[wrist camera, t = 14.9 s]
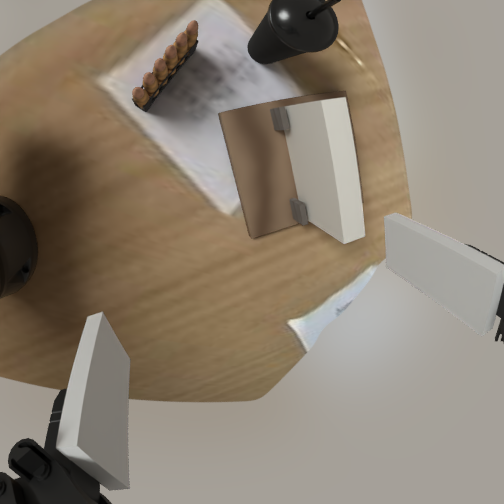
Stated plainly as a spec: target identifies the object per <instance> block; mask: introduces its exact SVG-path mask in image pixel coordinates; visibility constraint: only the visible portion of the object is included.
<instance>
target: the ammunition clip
mask: <svg viewBox="0 0 504 504" xmlns="http://www.w3.org/2000/svg"><path fill="white" fill-rule="evenodd" d="M197 37H198V23H197V21H195V20H194V21H191V22H190V23H189V24H188V26H187V28H186V30H185V31H184V32H182V33H180V34H179V35H178V36H177V38H176V41H175V42H174V44H173V45H170V46H168V47H167V48H166V51H165V54H164V56H163V59H161V58H159V59H157V60H156V61H155V64H154V68H153V72H152V73H150V72H148V73H146V74H145V75H144V77H143V85H142V86H141V88H140V87H135V88H134V89H133V91H132V94H133V99H132V100H133V102H134V104H135V106H137V107H138V108H140V109H142V110H143V111H145V112H147V110H148V109H149V107H150V106H151V105H152V103H153V102H154V101H155V99H156V98H157V97H158V95H159V94H160V93H161V92H162V90H163V89H164V88H165V86H166V85H167V84H168V83H169V81H170V80H171V79H172V78H173V76H174V75H175V74H176V73H177V71H178V70H179V69H180V68H181V67H182V65H183V64H184V63H185V62H186V61H187V60H188V58H189V57H190V56H191V55H192V54H193V53H194V52H195V50H196V47H197V44H198V40H196V39H197ZM143 87H144V89H145V90H144V89H143Z"/></svg>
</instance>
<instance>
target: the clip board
mask: <svg viewBox="0 0 504 504" xmlns="http://www.w3.org/2000/svg"><path fill="white" fill-rule="evenodd" d="M342 97H346V102H347V107H348V112H349V117H350V122H351V128H352V134H353V140H354V146H355V152H356V159H357V166H358V173H359V181H360V189H361V198H362V203H363V194H362V186H361V178H360V170H359V163H358V156H357V149H356V143H355V137H354V131H353V125H352V120H351V114H350V109H349V104H348V99H347V94H346V91H338V92H329V93H322V94H314V95H307V96H301V97H294V98H288V99H283V100H277V101H272V102H266V103H261V104H256V105H252V106H247V107H242V108H238V109H233V110H229V111H225V112H221V113H218V115H219V119H220V123H221V127H222V131H223V135H224V139H225V143H226V147H227V151H228V155H229V159H230V162H231V166H232V170H233V174H234V178H235V182H236V186H237V190H238V194H239V198H240V202H241V206H242V210H243V213H244V217H245V221H246V225H247V229H248V233H249V236H250V237H251V238H252V239H253V238H256V237H259V236H262V235H265V234H268V233H271V232H274V231H277V230H280V229H283V228H287V227H290V226H293V225H296V224H299V223H300V224H301V225H306V224H308V219H307V214H306V208H305V203H303V202H302V201H300V200H298V195H297V190H296V185H295V180H294V175H293V170H292V165H291V160H290V155H289V150H288V146H287V141H286V136H285V132H284V130H287V129H290V127H289V123H288V118H287V114H286V109H285V106H290V105H296V104H301V103H307V102H313V101H320V100H327V99H334V98H342Z"/></svg>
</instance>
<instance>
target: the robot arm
mask: <svg viewBox="0 0 504 504" xmlns="http://www.w3.org/2000/svg"><path fill="white" fill-rule="evenodd" d="M384 224H385V244H386V267H387V268H388V269H389V270H391V271H392V272H394V273H395V274H397V275H398V276H400V277H401V278H403V279H404V280H405V281H407V282H409V283H410V284H411V285H413V286H414V287H415V288H417V289H418V290H420V291H421V292H422V293H424V294H425V295H427V296H428V297H429V298H431V299H432V300H434V301H435V302H436V303H438V304H439V305H441V306H442V307H443V308H445V309H446V310H447V311H449V312H450V313H451V314H453V315H454V316H455V317H457V318H458V319H459V320H461V321H462V322H463V323H465V324H466V325H467V326H468V327H470V328H471V329H472V330H474V331H475V332H476V333H478V334H479V335H480V336H481V337H482V336H483V335H485V334H486V333H487V332H488V331H489V330H491V329H492V327H493V325H494V321H495V317H496V315H497V316H499V317H500V318H501V320H500V324H499V327H498V330H497V333H496V337H495V341H498V338H499V335H500V334H502V338H501V341H503V342H504V262H502V261H500V260H498V259H496V258H494V257H492V256H491V255H487V253H485V252H483V251H480V250H479V249H477V248H475V247H473V246H471V245H467V244H463V243H461V242H459V241H457V240H455V239H453V238H451V237H449V236H447V235H445V234H443V233H441V232H438V231H436V230H434V229H432V228H430V227H428V226H425V225H423V224H421V223H419V222H416V221H414V220H412V219H410V218H408V217H405V216H403V215H401V214H398V213H393V214H390V215H387V216H384ZM37 256H38V247H37V240H36V235H35V232H34V229H33V226H32V224H31V222H30V220H29V218H28V217H27V215H26V214H25V212H24V211H23V210H22V209H21V208H20V207H19V206H18V205H17V204H16V203H15V202H13V201H12V200H10V199H8V198H6V197H3V196H0V298H3V297H5V296H8V295H10V294H13V293H15V292H17V291H18V290H19V289H21V288H22V287H23V286H24V285H25V284H26V282H27V281H28V280H29V278H30V277H31V276H32V274H33V272H34V269H35V267H36V263H37ZM129 375H130V358H129V356H128V355H127V353H126V351H125V350H124V348H123V346H122V345H121V343H120V341H119V340H118V338H117V336H116V335H115V333H114V331H113V329H112V327H111V326H110V324H109V322H108V320H107V318H106V317H105V315H104V313H103V312H100V313H97V314H94V315H91V316H88V317H87V320H86V324H85V327H84V330H83V333H82V336H81V340H80V343H79V346H78V350H77V353H76V357H75V361H74V364H73V368H72V372H71V376H70V380H69V384H68V388H67V389H63V390H61V391H60V392H59V394H58V396H57V397H56V399H55V401H54V405H53V409H52V414H51V417H50V423H49V427H48V431H47V436H46V441H45V447H44V449H43V448H42V447H41V446H39V445H38V444H37V443H36V442H35V441H34V440H32V439H29V438H27V439H22V440H20V441H19V442H17V443H16V444H15V445H14V447H13V448H12V449H11V452H10V454H9V458H8V464H9V468H10V469H12V470H13V471H14V472H15V473H16V474H18V475H19V476H20V478H17V479H12V478H11V477H10V476H8V475H7V474H6V473H3V472H0V504H112V503H111V502H110V501H109V500H108V499H107V498H106V497H105V496H104V495H102V494H101V493H100V484H101V485H103V486H104V487H106V488H107V489H108V490H121V489H129V488H130V486H129V485H130V484H129V464H128V463H129V462H128V399H129Z"/></svg>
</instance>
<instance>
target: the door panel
mask: <svg viewBox="0 0 504 504" xmlns="http://www.w3.org/2000/svg"><path fill="white" fill-rule="evenodd" d="M285 109H286V114H287V118H288V123H289V127H290V129H287V130H284V132H285V136H286V141H287V146H288V150H289V155H290V160H291V165H292V170H293V175H294V180H295V185H296V190H297V195H298V200H300V201H302V202H303V203H305V208H306V214H307V219H308V221H310V222H311V223H313V224H314V225H316V226H317V227H319V228H320V229H322V230H323V231H325V232H326V233H328V234H329V235H331V236H332V237H334V238H335V239H337V240H338V241H340V242H341V243H343V244H346V243H349V242H351V241H354V240H357V239H359V238H362V237H365V228H364V217H363V207H362V198H361V189H360V181H359V173H358V166H357V159H356V152H355V146H354V140H353V134H352V128H351V122H350V117H349V112H348V107H347V102H346V97H342V98H334V99H327V100H320V101H313V102H307V103H301V104H296V105H290V106H285Z"/></svg>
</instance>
